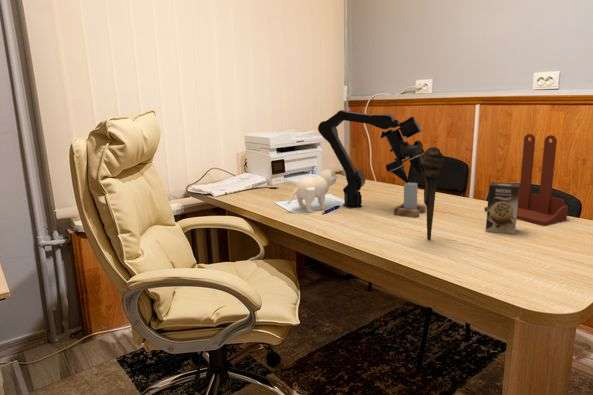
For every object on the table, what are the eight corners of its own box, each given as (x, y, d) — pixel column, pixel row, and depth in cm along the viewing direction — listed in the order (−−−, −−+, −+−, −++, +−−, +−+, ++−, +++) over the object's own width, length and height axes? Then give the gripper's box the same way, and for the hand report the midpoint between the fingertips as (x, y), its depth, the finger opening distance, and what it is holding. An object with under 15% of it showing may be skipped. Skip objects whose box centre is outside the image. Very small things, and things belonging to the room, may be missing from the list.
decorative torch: (423, 235, 142) (426, 145, 135) (443, 238, 138) (447, 146, 131) (414, 240, 137) (417, 148, 130) (435, 244, 133) (439, 149, 126)
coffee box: (485, 231, 143) (488, 184, 139) (486, 226, 149) (489, 181, 145) (515, 234, 139) (519, 186, 135) (515, 229, 144) (519, 182, 141)
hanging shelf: (484, 211, 168) (489, 135, 161) (506, 206, 173) (512, 132, 166) (543, 226, 146) (552, 139, 140) (566, 220, 152) (576, 136, 145)
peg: (403, 213, 168) (404, 184, 165) (407, 211, 171) (407, 182, 168) (413, 215, 166) (414, 185, 163) (416, 212, 169) (417, 183, 166)
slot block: (394, 215, 167) (394, 208, 166) (403, 208, 175) (404, 202, 175) (416, 217, 162) (416, 211, 161) (425, 211, 170) (425, 205, 170)
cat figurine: (291, 216, 171) (289, 175, 167) (281, 210, 180) (279, 171, 176) (344, 207, 181) (344, 169, 177) (332, 202, 190) (332, 165, 186)
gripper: (397, 144, 157) (415, 181, 158) (425, 129, 168) (443, 164, 168) (377, 153, 167) (394, 189, 167) (405, 138, 177) (421, 172, 177)
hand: (414, 178), depth 170 cm, fingers open, 9 cm apart
